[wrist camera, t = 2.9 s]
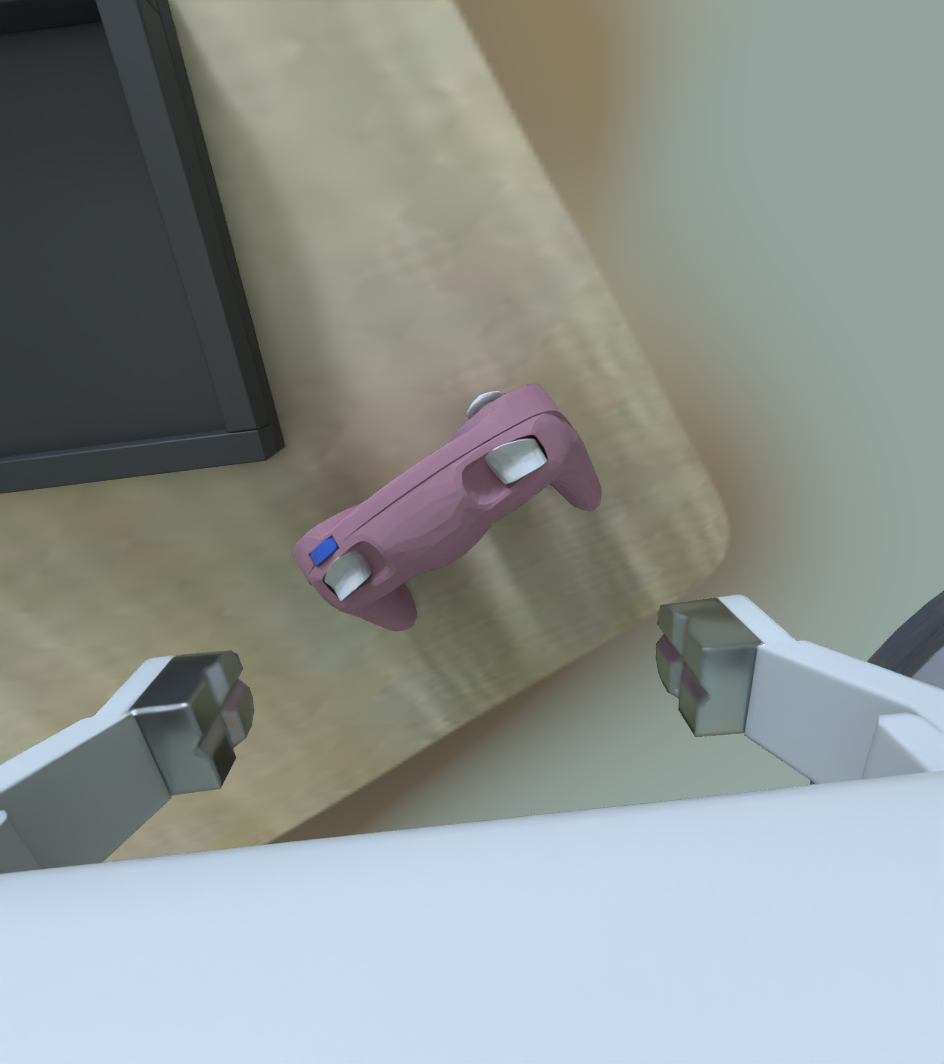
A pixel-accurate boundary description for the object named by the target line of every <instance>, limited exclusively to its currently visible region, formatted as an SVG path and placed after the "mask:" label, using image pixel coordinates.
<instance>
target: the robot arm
mask: <svg viewBox="0 0 944 1064" xmlns="http://www.w3.org/2000/svg"><path fill="white" fill-rule="evenodd" d="M657 621H658V622H657V624H658V626H659V627H660V629H661V630H662V632H663V633H664V635H663V636H662V637H661V638H660V640H659V641H658V642H657V643H656V661H657V667H658V673H659V675H660V678H661V680H662V683H663V685H664V686H665V688H666V690H667V692H668V693H670V694H672V695H674V696H675V697H677V698H679V711H680V713H681V714H682V716H683V718H684V719H685V721H686V723H687V724H688V726H689V727H690V729H691V731H692V732H693V734H694V735H695V737H702V736H715V735H727V734H739V733H745V736H747V737H748V738H749V739H751V740H752V741H754V742H755V743H757V744H758V745H759V746H761V747H762V748H764V749H766V750H767V751H768V752H770V753H771V754H773V755H774V756H776V757H777V758H779V759H780V760H781V761H783V762H785V763H786V764H787V765H789V766H790V767H792V768H793V769H795V770H796V771H798V772H799V773H801V774H802V775H804V776H806V777H807V778H808V779H810V780H811V781H812V782H814V783H815V784H814V785H805V786H797V787H788V788H779V789H770V790H762V791H753V792H744V793H735V794H725V795H717V796H707V797H697V798H688V799H679V800H670V801H660V802H652V803H643V804H633V805H624V806H614V807H605V808H597V809H586V810H578V811H568V812H559V813H549V814H540V815H531V816H521V817H512V818H503V819H494V820H486V821H476V822H468V823H458V824H449V825H441V826H432V827H422V828H414V829H404V830H395V831H386V832H377V833H368V834H359V835H351V836H341V837H332V838H324V839H315V840H305V841H296V842H288V843H278V844H269V845H259V846H250V847H241V848H232V849H223V850H214V851H205V852H195V853H186V854H177V855H168V856H159V857H150V858H141V859H131V860H122V861H113V862H104V863H102V862H103V861H104V860H105V859H106V858H108V857H109V856H110V855H111V854H112V853H113V852H114V851H115V850H116V849H117V848H118V847H119V846H120V845H121V844H123V843H124V842H125V841H126V840H127V839H128V838H129V837H130V836H131V835H132V834H133V833H134V832H135V831H136V830H138V829H139V828H140V827H141V826H142V825H143V824H144V823H145V822H146V821H147V820H148V819H149V818H150V817H152V816H153V815H154V814H155V813H156V812H157V811H158V810H159V809H160V808H161V807H162V806H163V805H164V804H165V803H167V802H168V801H169V800H170V799H171V795H178V794H186V793H193V792H200V791H207V790H215V789H221V787H222V785H223V783H224V781H225V779H226V777H227V775H228V773H229V771H230V769H231V767H232V765H233V763H234V761H235V759H236V756H235V753H234V750H233V748H234V747H235V746H237V745H238V744H239V743H240V742H242V741H243V740H244V739H245V738H246V737H247V735H248V732H249V730H250V728H251V726H252V720H253V714H254V705H253V697H252V694H251V691H250V688H249V687H248V686H247V685H246V684H244V683H243V682H242V681H240V680H239V679H238V678H239V676H240V674H241V672H242V670H243V667H242V664H241V662H240V659H239V657H238V654H236V653H235V652H233V651H231V650H229V651H217V652H206V653H194V654H183V655H171V656H163V657H155V658H151V659H148V660H146V661H145V662H144V663H143V664H142V665H141V666H140V667H139V668H138V669H137V670H136V671H135V672H134V674H133V675H132V676H131V677H130V678H129V679H128V680H127V681H126V682H125V683H124V684H123V685H122V686H121V688H120V689H119V690H118V691H117V692H116V693H115V694H114V695H113V696H112V697H111V698H110V699H109V700H108V701H107V703H106V704H105V705H104V706H103V707H102V708H101V709H100V710H99V711H98V712H97V713H96V714H95V715H94V716H93V717H91V718H83V719H82V720H80V721H78V722H76V723H75V724H73V725H71V726H69V727H67V728H66V729H64V730H62V731H60V732H58V733H57V734H55V735H53V736H51V737H49V738H48V739H46V740H44V741H42V742H40V743H39V744H37V745H35V746H33V747H31V748H30V749H28V750H26V751H24V752H23V753H21V754H19V755H17V756H15V757H14V758H12V759H10V760H8V761H6V762H5V763H3V764H1V765H0V1064H944V689H941V688H938V687H936V686H933V685H930V684H927V683H924V682H921V681H919V680H916V679H913V678H910V677H907V676H905V675H902V674H899V673H896V672H893V671H891V670H888V669H885V668H882V667H879V666H877V665H874V664H871V663H868V662H865V661H862V660H860V659H857V658H854V657H851V656H848V655H846V654H843V653H840V652H837V651H834V650H832V649H829V648H826V647H823V646H820V645H817V644H815V643H812V642H809V641H796V640H795V639H794V638H793V637H792V636H791V635H789V634H788V633H787V632H786V631H785V630H784V629H783V628H781V627H780V626H779V625H778V624H777V623H776V622H775V621H773V620H772V619H771V618H770V617H769V616H768V615H767V614H766V613H764V612H763V611H762V610H761V609H760V608H759V607H758V606H756V605H755V604H754V603H753V602H752V601H751V600H750V599H748V598H747V597H746V596H743V595H740V594H737V595H730V596H723V597H716V598H711V599H703V600H696V601H688V602H680V603H672V604H665V605H660V608H659V611H658V620H657Z"/></svg>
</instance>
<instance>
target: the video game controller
mask: <svg viewBox="0 0 944 1064" xmlns="http://www.w3.org/2000/svg"><path fill="white" fill-rule="evenodd" d="M467 417H468V418H469V420H468V421H467V422H466V423H465V424H464V425H463V426H462V427H461V428H460V429H459V430H458V431H457V432H456V433H455V434H454V435H453V437H452V438H451V440H450V441H449V443H448V444H447V445H445V446H443V447H442V448H440V449H438V450H437V451H435V452H433V453H432V454H430V455H429V456H427V457H426V458H424V459H423V460H421V461H420V462H419V463H417V464H416V465H414V466H413V467H411V468H410V469H408V470H407V471H405V472H404V473H403V474H401V475H400V476H398V477H397V478H395V479H394V480H393V481H391V482H390V483H388V484H387V485H386V486H384V487H383V488H382V489H380V490H379V491H378V492H376V493H375V494H374V495H372V496H371V497H370V498H368V499H367V500H366V501H364V502H363V503H360V504H358V505H355V506H353V507H351V508H348V509H346V510H344V511H342V512H340V513H338V514H336V515H334V516H332V517H331V518H329V519H327V520H325V521H323V522H322V523H320V524H319V525H317V526H315V527H314V528H313V529H311V530H310V531H309V532H308V533H306V534H305V535H304V536H303V537H302V538H301V539H300V540H299V541H298V542H297V543H296V544H295V546H294V548H293V550H292V555H293V556H294V558H295V560H296V561H297V563H298V565H299V567H300V568H301V570H302V572H303V573H304V575H305V577H306V579H307V580H308V582H309V584H310V585H312V586H313V587H314V588H315V589H316V590H317V591H318V593H319V594H320V595H321V596H322V597H323V598H324V600H326V601H327V602H328V603H329V604H330V605H332V606H333V607H335V608H336V609H338V610H340V611H342V612H345V613H348V614H351V615H354V616H357V617H360V618H362V619H365V620H367V621H369V622H372V623H374V624H376V625H379V626H381V627H383V628H386V629H389V630H392V631H402V630H406V629H408V628H411V627H412V626H413V625H414V623H415V620H416V618H417V610H416V607H415V604H414V602H413V600H412V598H411V595H410V593H409V591H408V589H407V587H406V586H405V584H404V582H406V581H407V580H409V579H410V578H412V577H413V576H415V575H417V574H420V573H423V572H428V571H432V570H435V569H438V568H440V567H442V566H445V565H447V564H449V563H451V562H453V561H455V560H457V559H458V558H460V557H461V556H463V555H464V554H465V553H467V552H468V551H469V550H470V549H471V548H472V547H473V546H474V545H475V544H476V543H477V542H478V541H479V540H480V539H481V538H482V536H483V535H484V534H485V533H486V531H487V530H488V529H489V527H490V526H491V525H492V524H493V523H494V522H496V521H497V520H499V519H500V518H502V517H503V516H505V515H507V514H508V513H510V512H511V511H513V510H514V509H516V508H517V507H519V506H520V505H522V504H523V503H525V502H526V501H528V500H529V499H530V498H532V497H533V496H534V495H536V494H537V493H538V492H539V491H541V490H542V489H543V488H545V487H546V486H547V485H549V484H550V485H551V486H553V487H554V488H555V489H556V490H557V491H558V492H559V493H560V494H561V495H562V496H563V497H564V498H565V499H566V500H567V501H568V502H569V503H570V504H571V505H573V506H574V507H577V508H580V509H583V510H588V511H592V510H594V509H596V508H597V507H598V506H599V505H600V501H601V494H602V492H601V486H600V483H599V480H598V478H597V475H596V473H595V470H594V468H593V465H592V463H591V460H590V458H589V455H588V453H587V450H586V448H585V445H584V443H583V442H582V440H581V438H580V437H579V435H578V434H577V432H576V431H575V430H574V428H573V427H572V426H571V424H570V423H569V422H568V420H567V419H566V418H565V416H564V415H563V414H562V413H561V411H560V410H559V409H558V408H557V406H556V405H555V404H554V402H553V401H552V400H551V398H550V397H549V396H548V394H547V393H546V392H545V390H544V389H543V388H542V386H541V385H540V384H529V385H526V386H523V387H521V388H518V389H516V390H513V391H511V392H509V393H506V394H504V395H502V396H501V392H499V391H492V392H488V393H484V394H482V395H480V396H478V397H477V398H476V399H475V400H474V401H473V403H472V404H471V406H470V407H469V409H468V411H467Z"/></svg>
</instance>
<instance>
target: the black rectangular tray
mask: <svg viewBox="0 0 944 1064" xmlns="http://www.w3.org/2000/svg"><path fill="white" fill-rule="evenodd" d="M284 446H285V445H284V441H283V438H282V434H281V430H280V426H279V422H278V419H277V415H276V411H275V407H274V403H273V400H272V396H271V392H270V388H269V384H268V381H267V377H266V373H265V369H264V366H263V362H262V358H261V354H260V350H259V347H258V343H257V339H256V335H255V331H254V328H253V324H252V320H251V316H250V312H249V309H248V305H247V301H246V297H245V294H244V290H243V286H242V282H241V278H240V275H239V271H238V267H237V263H236V259H235V256H234V252H233V248H232V244H231V240H230V237H229V233H228V229H227V225H226V221H225V218H224V214H223V210H222V206H221V203H220V199H219V195H218V191H217V187H216V184H215V180H214V176H213V172H212V168H211V165H210V161H209V157H208V153H207V149H206V146H205V142H204V138H203V134H202V131H201V127H200V123H199V119H198V115H197V112H196V108H195V104H194V100H193V96H192V93H191V89H190V85H189V81H188V77H187V74H186V70H185V66H184V62H183V59H182V55H181V51H180V47H179V43H178V40H177V36H176V32H175V28H174V24H173V21H172V17H171V13H170V9H169V5H168V2H167V0H0V494H1V493H9V492H17V491H25V490H33V489H41V488H49V487H57V486H65V485H73V484H81V483H89V482H97V481H105V480H113V479H122V478H130V477H138V476H146V475H154V474H162V473H170V472H178V471H186V470H194V469H202V468H210V467H218V466H226V465H234V464H242V463H250V462H258V461H266V460H267V459H269V458H270V457H272V456H273V455H275V454H276V453H277V452H278V451H280V450H281V449H283V448H284Z"/></svg>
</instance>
